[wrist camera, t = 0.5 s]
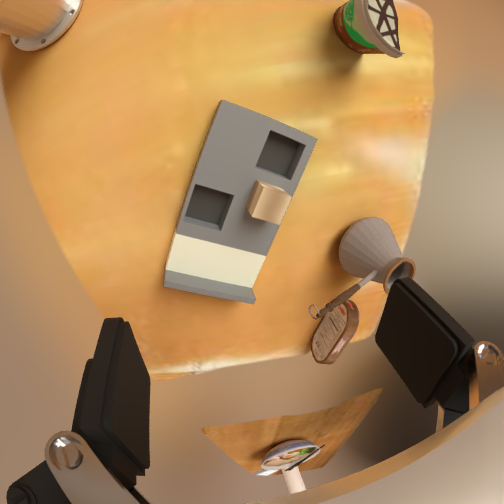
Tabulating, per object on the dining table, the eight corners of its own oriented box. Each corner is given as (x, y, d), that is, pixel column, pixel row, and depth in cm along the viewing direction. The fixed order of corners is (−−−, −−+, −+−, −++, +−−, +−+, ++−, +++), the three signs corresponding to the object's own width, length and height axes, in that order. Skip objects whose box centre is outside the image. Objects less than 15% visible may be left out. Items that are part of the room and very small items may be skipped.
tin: (315, 345, 61) (330, 372, 54) (304, 345, 60) (318, 373, 53) (346, 291, 55) (367, 317, 48) (335, 290, 54) (355, 317, 47)
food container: (322, -10, 27) (356, -31, 18) (356, -3, 28) (394, -18, 19) (329, 57, 33) (368, 48, 24) (363, 62, 34) (405, 57, 25)
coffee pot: (385, 206, 47) (442, 243, 35) (380, 259, 53) (426, 303, 40) (276, 228, 45) (314, 282, 32) (281, 287, 50) (313, 347, 38)
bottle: (282, 465, 103) (301, 516, 78) (298, 461, 105) (317, 511, 80) (279, 470, 107) (296, 518, 81) (294, 466, 109) (312, 514, 83)
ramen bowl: (279, 429, 80) (286, 449, 73) (327, 427, 89) (335, 444, 82) (244, 457, 88) (248, 474, 81) (290, 454, 97) (296, 470, 90)
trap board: (164, 266, 43) (163, 286, 39) (220, 100, 34) (226, 98, 29) (246, 284, 48) (253, 304, 44) (310, 137, 39) (327, 141, 34)
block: (245, 206, 39) (251, 216, 36) (255, 179, 37) (263, 187, 34) (271, 214, 40) (279, 225, 37) (281, 188, 39) (291, 197, 35)
